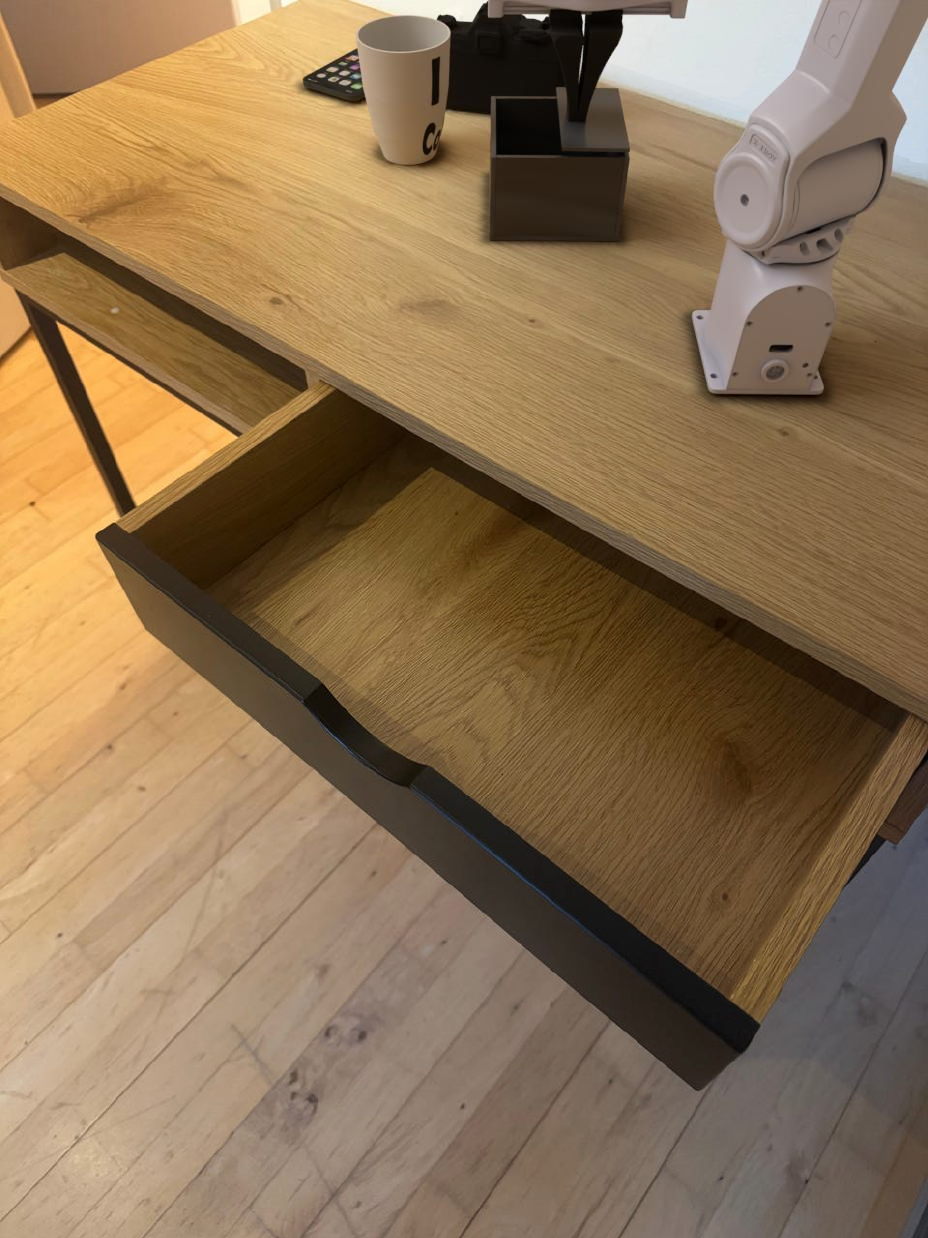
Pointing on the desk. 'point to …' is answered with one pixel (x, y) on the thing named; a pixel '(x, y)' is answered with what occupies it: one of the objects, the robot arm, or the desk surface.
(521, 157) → the carton
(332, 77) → the smartphone
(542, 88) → the film camera
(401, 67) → the cup
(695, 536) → the desk surface
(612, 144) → the flap
